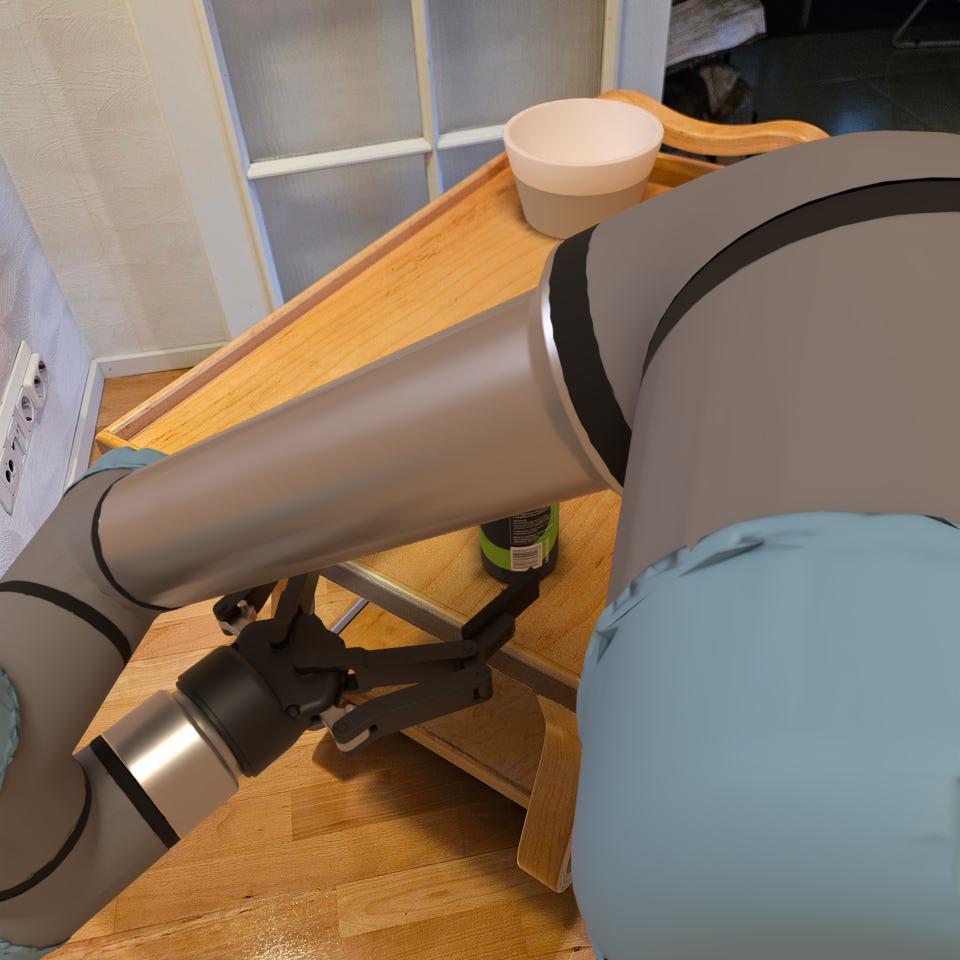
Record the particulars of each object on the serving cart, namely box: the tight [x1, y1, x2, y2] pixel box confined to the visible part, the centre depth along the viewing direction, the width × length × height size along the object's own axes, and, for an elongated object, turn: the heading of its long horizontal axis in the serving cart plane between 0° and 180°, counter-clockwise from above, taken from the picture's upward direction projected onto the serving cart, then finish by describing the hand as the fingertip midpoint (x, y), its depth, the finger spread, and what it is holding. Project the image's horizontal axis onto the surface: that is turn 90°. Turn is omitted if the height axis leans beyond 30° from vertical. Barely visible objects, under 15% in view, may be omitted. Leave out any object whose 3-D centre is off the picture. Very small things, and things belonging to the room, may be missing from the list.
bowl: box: [502, 97, 665, 240], centre depth 102 cm, size 19×19×11 cm
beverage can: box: [478, 503, 560, 584], centre depth 62 cm, size 6×6×15 cm
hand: (464, 529), depth 59 cm, fingers open, 13 cm apart
